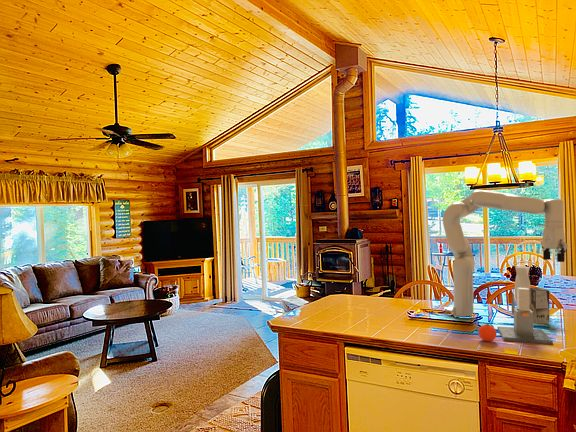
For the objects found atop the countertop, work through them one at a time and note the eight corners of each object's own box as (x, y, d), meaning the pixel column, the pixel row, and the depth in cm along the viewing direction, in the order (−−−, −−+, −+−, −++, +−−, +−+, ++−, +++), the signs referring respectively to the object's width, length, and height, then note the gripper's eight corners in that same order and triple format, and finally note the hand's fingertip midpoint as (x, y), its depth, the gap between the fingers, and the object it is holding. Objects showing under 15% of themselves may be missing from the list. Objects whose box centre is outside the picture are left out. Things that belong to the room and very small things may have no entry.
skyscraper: (527, 313, 231) (526, 261, 231) (534, 316, 223) (533, 263, 223) (510, 312, 232) (510, 261, 232) (517, 316, 224) (517, 263, 224)
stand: (504, 340, 180) (503, 313, 180) (497, 329, 198) (497, 304, 197) (552, 344, 175) (552, 316, 175) (541, 332, 192) (541, 307, 192)
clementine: (477, 337, 185) (477, 321, 185) (494, 338, 183) (494, 322, 183) (479, 342, 178) (479, 325, 178) (498, 344, 176) (498, 326, 176)
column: (519, 333, 185) (518, 289, 185) (517, 330, 189) (516, 287, 189) (529, 334, 183) (529, 289, 183) (527, 331, 187) (527, 288, 187)
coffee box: (550, 323, 207) (549, 290, 207) (535, 323, 209) (535, 290, 209) (542, 319, 216) (542, 287, 216) (529, 318, 218) (528, 287, 217)
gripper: (534, 224, 212) (534, 258, 212) (558, 225, 195) (558, 262, 195) (549, 224, 213) (548, 258, 213) (574, 225, 195) (574, 262, 195)
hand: (553, 260), depth 204 cm, fingers open, 9 cm apart
